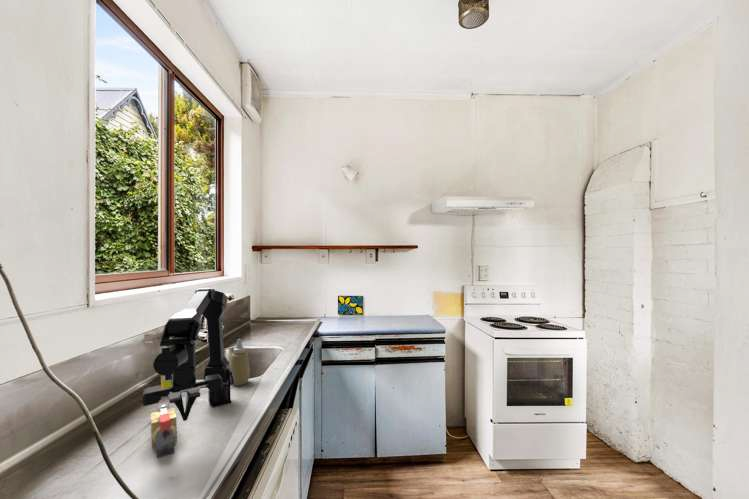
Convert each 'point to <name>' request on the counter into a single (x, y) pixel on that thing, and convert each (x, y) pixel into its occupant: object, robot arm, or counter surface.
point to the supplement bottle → (165, 383)
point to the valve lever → (164, 416)
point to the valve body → (163, 434)
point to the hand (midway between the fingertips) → (185, 420)
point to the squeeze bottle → (240, 364)
